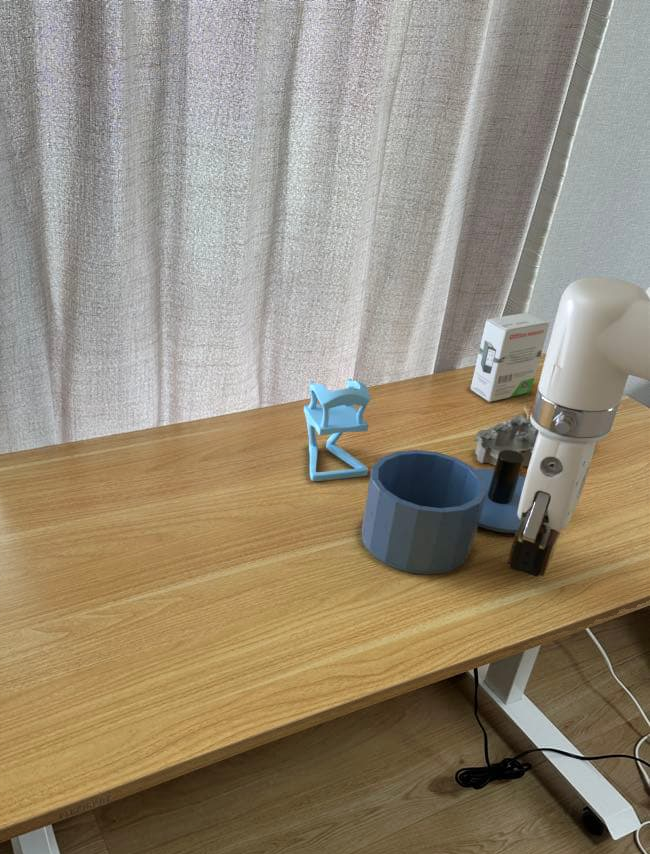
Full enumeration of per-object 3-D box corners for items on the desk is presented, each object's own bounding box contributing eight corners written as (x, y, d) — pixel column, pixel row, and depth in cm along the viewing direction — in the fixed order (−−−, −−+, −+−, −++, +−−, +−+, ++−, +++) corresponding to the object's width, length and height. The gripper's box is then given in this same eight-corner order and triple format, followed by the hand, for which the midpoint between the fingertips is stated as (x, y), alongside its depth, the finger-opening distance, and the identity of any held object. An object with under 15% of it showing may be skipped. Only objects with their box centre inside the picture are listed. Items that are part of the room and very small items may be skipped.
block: (552, 557, 90) (561, 528, 87) (543, 576, 87) (552, 546, 85) (516, 545, 91) (524, 516, 89) (506, 564, 89) (514, 534, 86)
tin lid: (565, 496, 103) (581, 448, 99) (538, 551, 94) (555, 500, 89) (462, 464, 109) (473, 417, 104) (426, 513, 99) (437, 463, 95)
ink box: (510, 380, 130) (529, 310, 123) (531, 393, 127) (552, 321, 120) (468, 389, 127) (485, 317, 120) (488, 403, 124) (507, 329, 117)
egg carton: (507, 480, 106) (515, 453, 104) (464, 455, 111) (470, 428, 108) (558, 457, 111) (566, 431, 109) (514, 434, 116) (521, 409, 113)
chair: (345, 444, 112) (356, 363, 104) (368, 476, 105) (381, 392, 98) (292, 449, 110) (300, 367, 103) (312, 482, 103) (321, 397, 96)
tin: (483, 531, 96) (500, 471, 91) (449, 588, 87) (465, 525, 82) (386, 498, 101) (397, 439, 96) (343, 549, 92) (353, 487, 87)
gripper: (595, 459, 71) (545, 614, 82) (629, 388, 83) (581, 532, 93) (511, 436, 74) (473, 589, 85) (554, 371, 86) (516, 513, 96)
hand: (530, 558), depth 89 cm, fingers closed on block, 4 cm apart
